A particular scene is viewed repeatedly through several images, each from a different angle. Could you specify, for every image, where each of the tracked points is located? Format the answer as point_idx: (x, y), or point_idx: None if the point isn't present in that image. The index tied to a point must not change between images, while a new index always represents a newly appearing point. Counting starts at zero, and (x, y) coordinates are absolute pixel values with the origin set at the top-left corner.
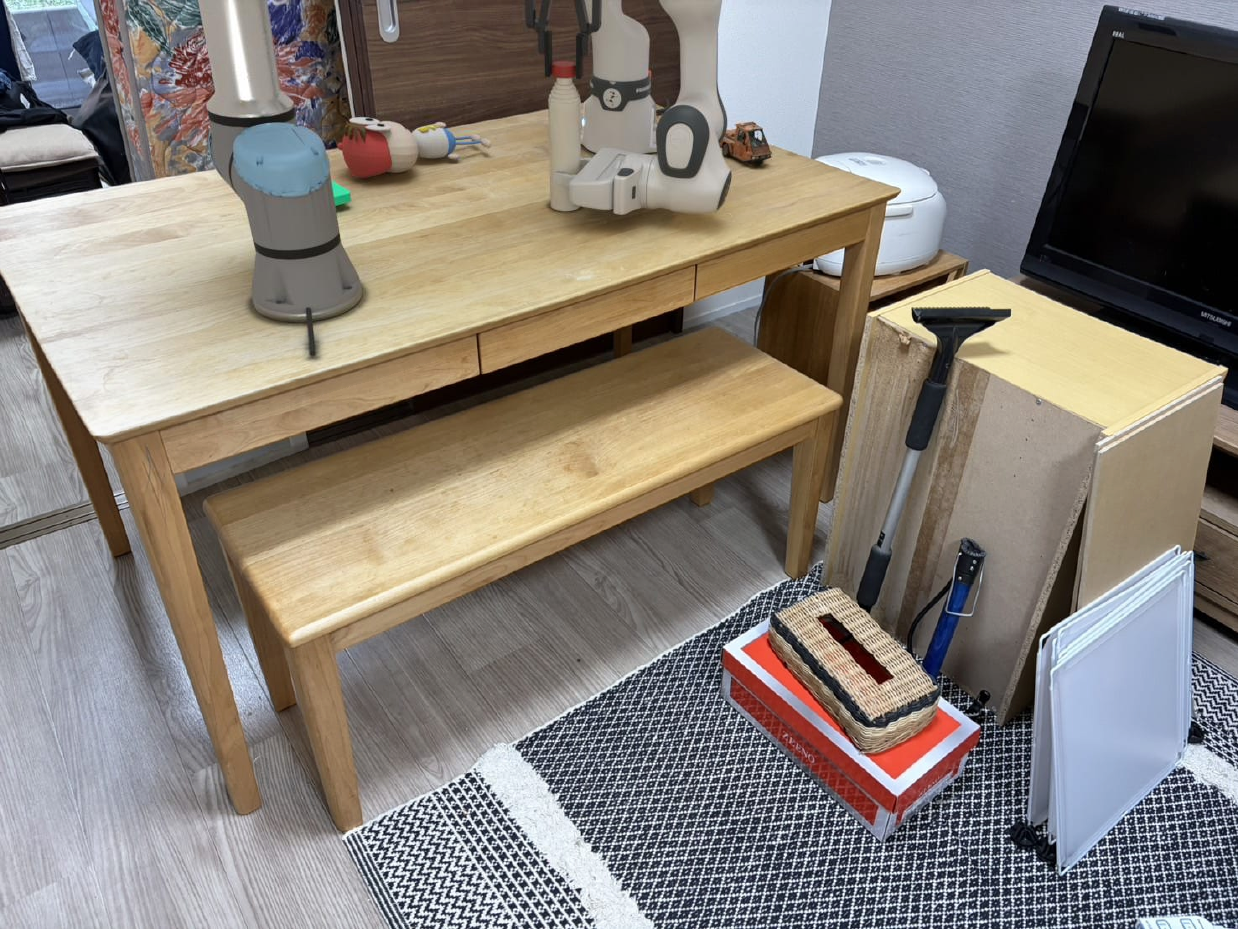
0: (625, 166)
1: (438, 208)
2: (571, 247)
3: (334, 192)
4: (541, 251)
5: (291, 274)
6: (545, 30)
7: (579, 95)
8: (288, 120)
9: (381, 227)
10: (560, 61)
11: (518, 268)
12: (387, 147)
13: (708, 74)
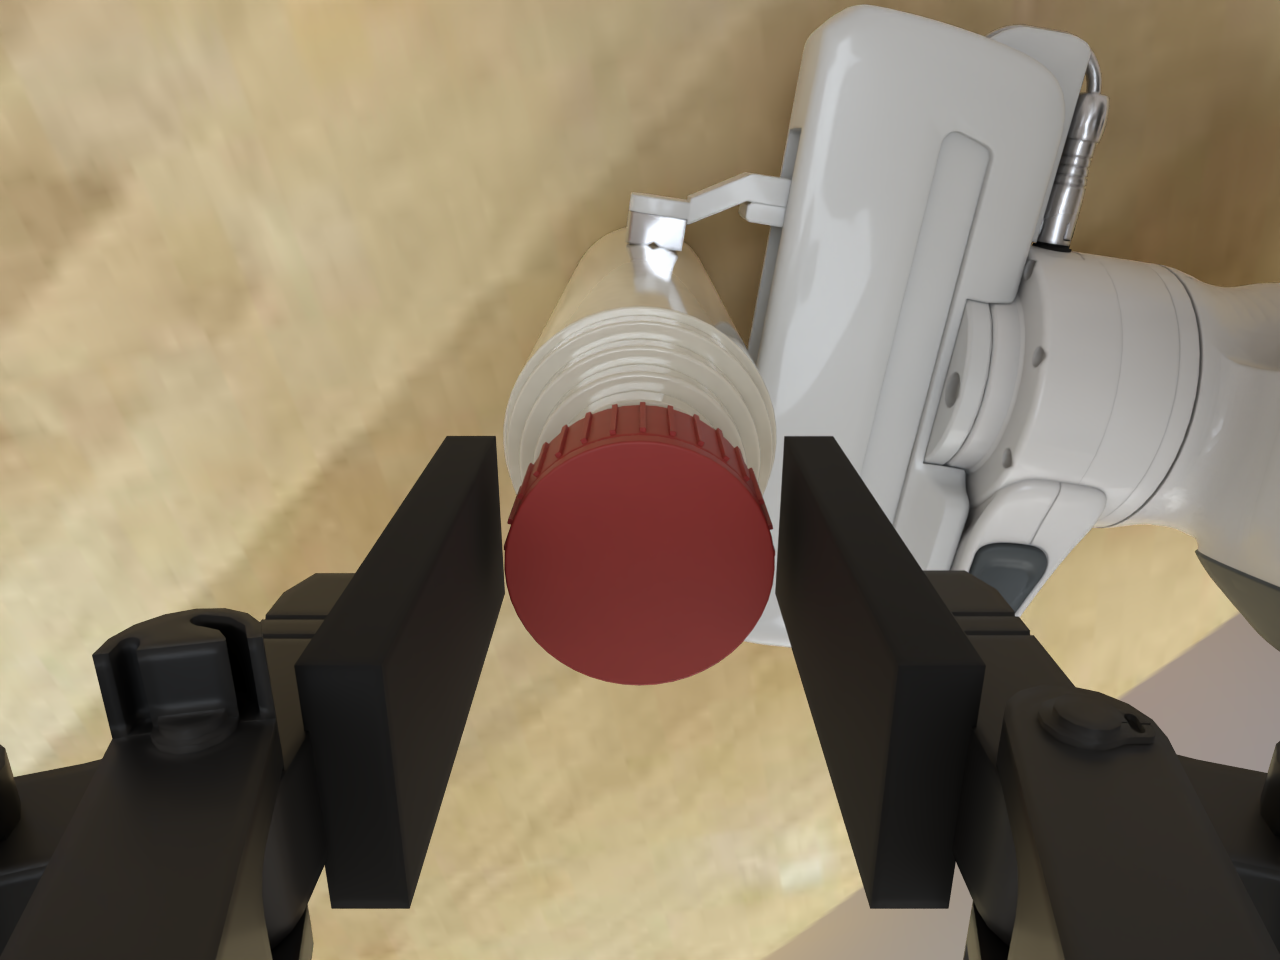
0: (1004, 527)
1: (111, 436)
2: (731, 686)
3: None
4: (633, 731)
5: None
6: (312, 859)
7: (770, 425)
8: None
9: (2, 648)
10: (576, 479)
11: (588, 848)
12: None
13: None
